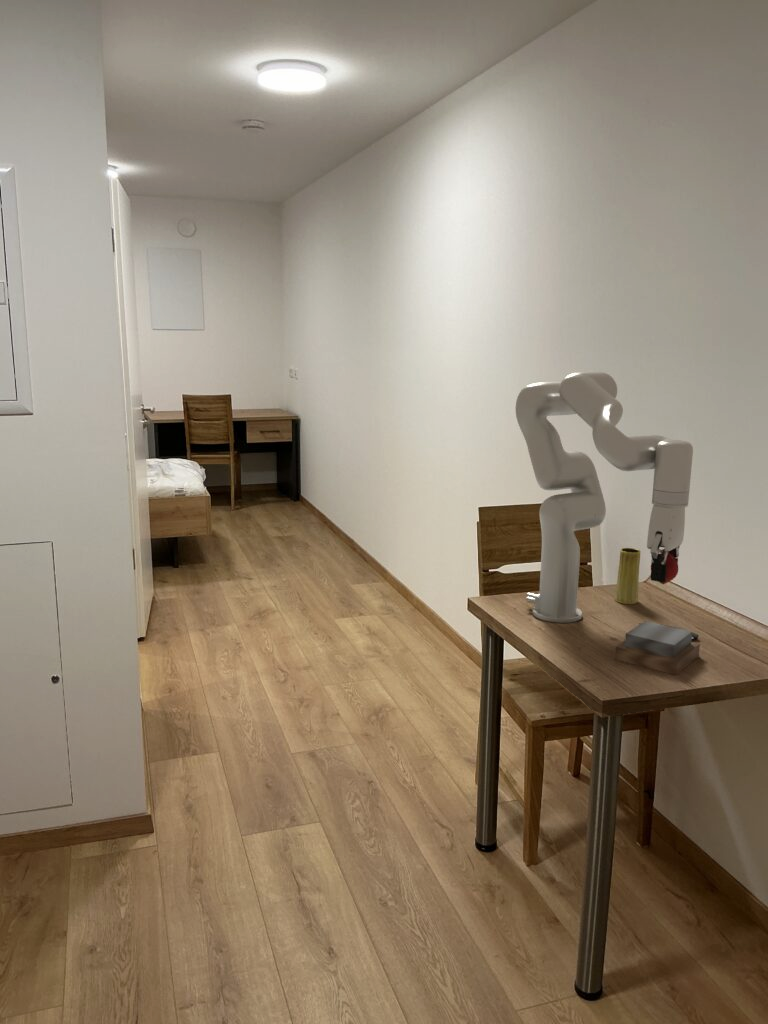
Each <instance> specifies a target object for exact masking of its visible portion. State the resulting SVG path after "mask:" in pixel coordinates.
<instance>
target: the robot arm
mask: <svg viewBox="0 0 768 1024" xmlns="http://www.w3.org/2000/svg"><path fill="white" fill-rule="evenodd" d="M617 385H618V384H617V382H616V381H615V379H614V378H613V376H611V375H610V374H608V373H606V372H603V371H588V372H587V371H583V372H579V371H578V372H573V373H571V374H568V375H566V376H565V377H564V378H563V379H562V381H543V382H541V381H540V382H535V383H531V384H528V385H526V386H525V387H523V388H522V389H521V390H520V391H519V393H518V396H517V398H516V402H515V418H516V420H517V424H518V426H519V429H520V431H521V434H522V435H523V438H524V441H525V442H526V446H527V450H528V454H529V459H530V463H531V465H532V469H533V473H534V477H535V480H536V482H537V484H538V486H539V487H540V488H541V489H542V490H544V491H560V490H570V492H568V493H561V494H560V493H559V494H554V495H550V496H549V497H547V498H546V499H544V500H543V501H542V502H541V504H540V507H539V515H538V516H539V521H540V523H539V524H540V530H541V554H540V555H541V557H540V572H539V573H540V577H539V593H538V594H536V593H533V592H527V593H526V596H525V597H526V599H525V600H526V602H527V603H530V604H534V606H533V607H532V611H531V612H532V615H533V616H534V617H535V618H537V619H540V620H543V621H546V622H551V623H561V624H562V623H573V622H577V621H579V620H581V619H582V618H583V612H582V610H581V609H580V608H578V607H577V606H578V605H577V604H578V590H579V576H580V575H579V574H580V572H579V571H580V560H581V559H580V558H581V557H580V556H581V555H580V553H581V549H580V544H579V541H578V539H577V537H576V535H575V531H581V530H582V531H583V530H587V529H593V528H596V527H598V526H600V525H602V523H603V522H604V520H605V518H606V514H607V513H606V512H607V508H606V502H605V499H604V493H603V492H602V491H603V490H602V488H601V484H600V480H599V476H598V474H597V470H596V467H595V464H594V463H593V460H592V459H591V458H590V456H589V455H587V454H586V453H585V452H581V451H578V450H577V451H576V450H573V451H566V450H565V449H564V447H563V444H562V441H561V436H560V434H559V432H558V430H557V428H556V427H555V426H554V425H553V423H551V421H549V420H548V419H547V418H548V417H551V416H555V417H556V416H570V415H571V416H572V415H578V417H580V419H582V421H584V422H585V423H586V424H587V425H588V426H589V427H590V428H591V429H592V433H591V434H592V439H593V440H592V441H593V443H594V446H595V449H596V450H597V452H598V453H599V454H600V455H601V456H602V457H603V458H604V459H605V460H606V461H607V462H608V463H610V464H611V465H612V466H613V467H615V468H616V469H618V470H620V471H623V472H636V471H645V470H646V471H647V470H648V471H649V470H654V471H653V484H652V495H651V496H652V498H651V504H652V508H651V512H650V519H649V523H648V530H647V531H648V532H647V538H646V539H647V540H646V548H647V549H648V550H650V552H649V553H650V554H651V560H650V561H651V562H650V563H652V566H651V565H650V578H649V579H650V580H651V581H653V582H658V583H660V582H663V583H664V582H665V581H666V571H667V565H666V564H665V563H666V558H667V554H668V552H669V553H670V554H671V555H673V556H674V557H675V559H676V561H677V563H678V564H679V555H680V553H679V552H680V546H681V545H682V543H683V541H684V536H685V522H686V521H685V520H686V508H687V507H688V506H689V499H690V488H691V487H690V486H691V479H692V477H691V475H692V465H693V454H694V447H693V445H692V443H691V442H689V441H685V440H678V439H671V438H668V437H664V435H663V436H662V435H656V434H655V435H653V434H652V435H639V436H637V435H635V436H627V435H625V434H624V433H623V432H621V430H619V429H618V428H617V427H616V426H617V425H618V423H619V422H620V420H621V418H622V417H623V414H624V413H623V412H624V411H623V410H624V409H623V406H622V404H621V402H620V401H618V400H617V399H616V398H617V396H618V386H617ZM661 548H662V549H661ZM663 549H664V550H663ZM660 553H663V557H662V556H661V554H660Z"/></svg>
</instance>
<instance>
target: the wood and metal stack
mask: <svg viewBox="0 0 768 1024" xmlns="http://www.w3.org/2000/svg"><path fill="white" fill-rule="evenodd" d="M640 623H641V624H640ZM640 623H639V624H638V625H637V626H635V627H634V628H632V629H631V630H629V631H627V632H626V633H625V636H624V637H625V638H624V639H625V640H623V641H622V642H620V643H619V644H617V645H616V646H615V650H614V660H616V661H619V662H620V661H621V662H624V663H627V662H628V663H627V664H631V665H635V666H639V667H643V668H647V669H651V670H655V671H659V672H663V673H667V674H671V675H675V676H677V675H679V673H680V674H681V672H682V671H683V670H684V669H686V668H687V667H689V666H690V664H692V663H693V662H694V661H695V660H697V658H699V657H700V648H701V647H700V645H701V644H700V643H698V642H694V641H691V639H692V632H693V631H690V630H687V629H684V628H680V629H678V628H679V627H677V628H674V627H675V626H672V627H669V626H670V625H667V626H665V624H662V625H660V623H655V622H651V621H646V620H644V621H642V622H640ZM683 629H684V630H683Z"/></svg>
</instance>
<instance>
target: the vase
mask: <svg viewBox="0 0 768 1024" xmlns="http://www.w3.org/2000/svg"><path fill="white" fill-rule="evenodd" d="M640 561H641V550H640V549H637V548H634V547H633V548H632V547H622V548H620V554H619V562H618V563H619V564H618V571H617V581H616V591H615V597H614V600H615V602H617V603H619V604H623V605H636V604H637V603H639V581H640V580H639V579H640V576H639V575H640Z"/></svg>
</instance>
